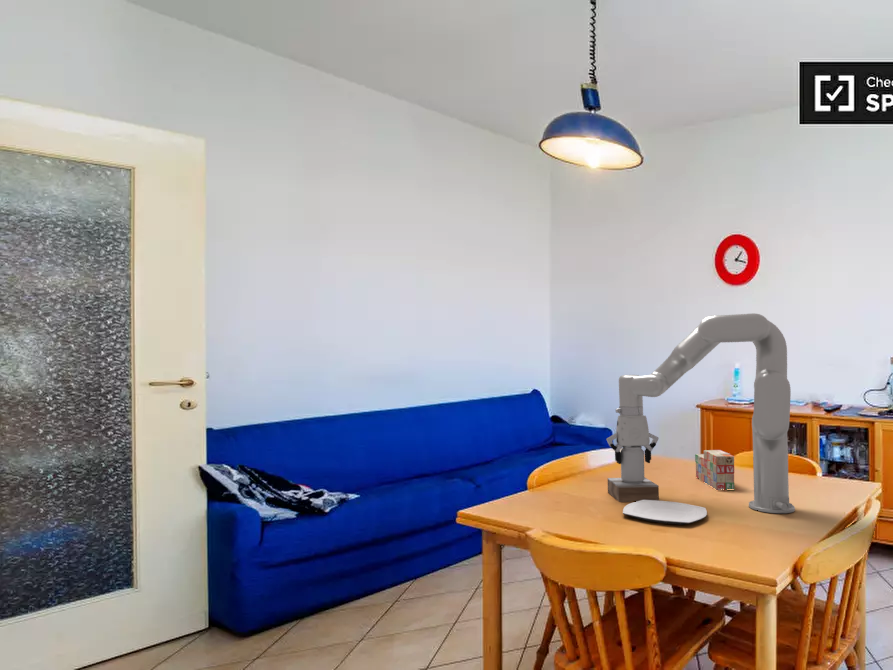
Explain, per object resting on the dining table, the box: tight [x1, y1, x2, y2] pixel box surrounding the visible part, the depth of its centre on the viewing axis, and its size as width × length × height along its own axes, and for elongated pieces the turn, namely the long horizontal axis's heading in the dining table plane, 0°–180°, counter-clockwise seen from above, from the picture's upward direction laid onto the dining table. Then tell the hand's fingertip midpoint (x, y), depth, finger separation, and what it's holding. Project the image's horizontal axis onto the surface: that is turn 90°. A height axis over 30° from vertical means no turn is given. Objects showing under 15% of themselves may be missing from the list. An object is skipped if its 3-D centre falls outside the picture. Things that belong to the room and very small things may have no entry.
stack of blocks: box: [694, 449, 736, 491], centre depth 227 cm, size 21×6×12 cm, turn 177°
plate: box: [622, 500, 708, 526], centre depth 186 cm, size 23×23×2 cm
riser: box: [607, 476, 660, 503], centre depth 210 cm, size 13×13×5 cm
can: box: [620, 446, 646, 484], centre depth 210 cm, size 8×8×12 cm
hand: (633, 462), depth 210 cm, fingers open, 9 cm apart
